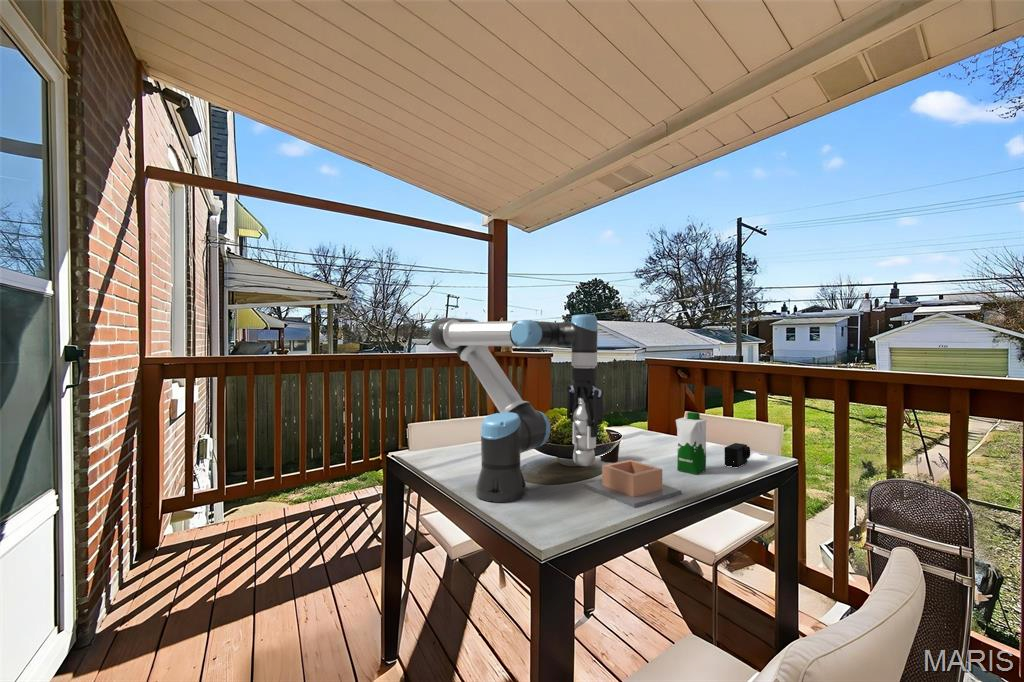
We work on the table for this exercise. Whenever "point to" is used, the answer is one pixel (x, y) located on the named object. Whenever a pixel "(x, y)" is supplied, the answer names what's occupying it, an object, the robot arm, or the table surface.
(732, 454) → the digital camera
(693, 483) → the table surface
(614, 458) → the coffee mug
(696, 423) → the milk carton
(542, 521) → the table surface
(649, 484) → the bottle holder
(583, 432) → the silver bottle
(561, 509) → the table surface
